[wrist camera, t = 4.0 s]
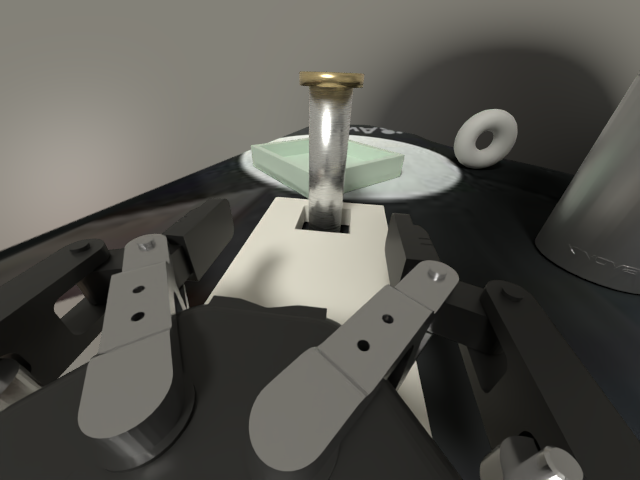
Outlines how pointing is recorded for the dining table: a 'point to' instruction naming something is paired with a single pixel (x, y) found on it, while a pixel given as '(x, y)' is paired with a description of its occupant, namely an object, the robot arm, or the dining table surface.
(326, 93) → the pin
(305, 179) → the tray
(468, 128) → the donut
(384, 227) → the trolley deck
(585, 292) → the dining table surface
